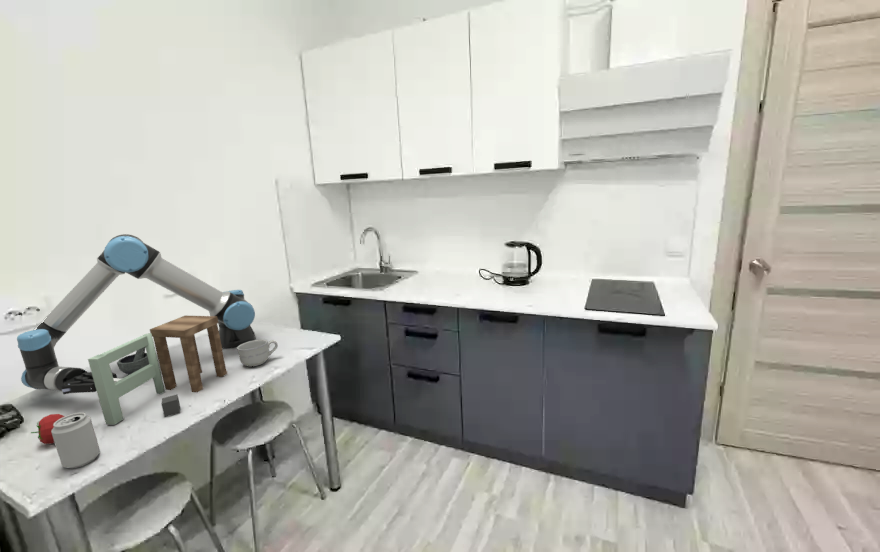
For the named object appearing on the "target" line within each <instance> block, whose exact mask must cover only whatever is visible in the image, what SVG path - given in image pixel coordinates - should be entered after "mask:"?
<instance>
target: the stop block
mask: <svg viewBox="0 0 880 552" xmlns="http://www.w3.org/2000/svg"><path fill="white" fill-rule="evenodd" d="M178 395H179V394H177V393H176V394H173V395H169V396H166V397H165V396H164V397H161V409H162V412H163V417H164V418H167V417H172V416H175V415H178V414H181V404H180V399H179V396H178Z"/></svg>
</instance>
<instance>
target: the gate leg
mask: <svg viewBox="0 0 880 552" xmlns="http://www.w3.org/2000/svg"><path fill="white" fill-rule="evenodd" d="M143 347H145V353H147V356H148V360H149V365H147V366H145V367H143V368H141V369H139V370H137V371H136V372H134V373H132V374H130V375H128V376H127V375H126V376H125V377H123V378H120V379H121V380H119V381H117V382H115V383H114V379H113V376H112V373H113V372H112V369H111V366H110V364H111V363H114V362H116V361H119V359H122V358H124V357H126V356H129V355H132V354H133V353H136V351H137V350H139V349H141V348H143ZM87 360H88V365H89V368H90V372H92V376H93V379H94V383H95V387H96V390H97V391H96V394H97V397H98V401H99V405H100V407H101V412H102V415H103V418H104V423H105V425H113V426H114V425H117V424H118V423H120V422H121V421H122V420H124V419H125V417H124V415H123V410H122V406H121V403H120V402H121V401H120V398H122V397H123V396H124V395H127V394H128V393H130V392H131V391H134V389H136V388H138V387H139V386H142V385H143V384H145V383H147V382H149V381H151V379H153V380H152V381H153V385H154V388H155V392H156V395H161V394H164V393H166V390H165V386H164V382H163V377H162V373H161V369H160V365H159V360H158V356H157V352H156V348H155V343H154V339H153V337H152V334H151V333H145V334H142V335H140V336H138V337H136V338H134V339H131V340H130V341H127V342H125V343H122V344H121V345H119V346H116V347H114V348H111V349H109V350H107V351H104V352H102V353H100V354H96V355H94V356H92V357H90V358H87Z"/></svg>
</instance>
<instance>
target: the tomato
mask: <svg viewBox="0 0 880 552" xmlns="http://www.w3.org/2000/svg"><path fill="white" fill-rule="evenodd" d="M65 416H66V415H63V414H60V413H51V414H49V415H46V416H43V417H42V418H41V419H40V420H39V421H37V423H36V428H38V429H37V430H38V431H31V432H30V434H38V436H37V438H38V440H39V442H40V443H42V444H43V445H51V444H52V445H53V444H55V442H54V439H53V436H52V432H51V431H52V429H53V428H54V426H53V424H54V423H55V422H56V421H57V420H59V419H60V418H62V417H65Z"/></svg>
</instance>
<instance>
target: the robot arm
mask: <svg viewBox="0 0 880 552" xmlns="http://www.w3.org/2000/svg"><path fill="white" fill-rule="evenodd" d="M161 254H162V253H161V251H159V250H157V249H155V248H154V247H152V246H150V245H148V244H147V243H145V242H144V241H143V240H142V239H140V238H139V237H138V236H135V235H132V234H127V233H126V234H124V233H123V234H119V235H116V236H114V237H112V238H111V239H110V240H109V241H108V242H107V244H106V245H105V247H104V250H103V251H102V252H101V253H100V255H98V257H96V261H97V263H95V265H94V266H93V267H92V268H91V269H90V270H89V271H88V272H87V273H86V274H85V275H84V276H83V277H82V279H80V280H79V282H78V283H77V284H76V285H75V286H74V287H73V288H72V289H71V290H70V291H69V292H68V293H67V294H66V295H65V296H64V297H63V298H62V300H61V301H60V302H59V303H58V304H57V305H56V306H55V307H54V308H53V309H52V310H51V311H50V312H51V313H50V312H49V313H50V314H49V313H48V315H46V317H47V318H46V317H45V318H46V319H45V318H44V319H45V320H44V319H43V320H44V322H43V323H41V322H40V323H41V324H40V323H39V324H40V325H39V324H38V325H39V326H38V325H37V326H38V327H37V326H36V327H37V329H36V330H34V329H32V330H29V331H25V332H22V333H20V334H18V336H17V338H16V341H17V347H18V349H19V352H20V354H21V358H22V361H23V364H24V367H25V369H24V370H23V372H22V374H21V377H20V381H21V383H22V384H23V385H24V386H26V388H27V387H28V388H31V389H34V390H49V391H57V392H58V391H59V392H62V394H63V395H69V394H76V393H77V394H78V393H79V394H80V393H82V394H83V393H95V392H96V393H97V390H96V387H95V383H94V379H93V376H92V372H91V371H86V370H85V369H84V368H81V367H74V366H73V367H72V366H71V367H70V366H59V362H58V358H57V356H56V352H55V351H56V350H55V346H56V345H57V343H58V342H59V341H60V340H61V339H62V337H63V336H65V334H67V331H69V330H70V328H72V326H74V324H75V323H76V322H77V321H78V320H79V319H80V318H81V317H82V316H83V315H84V313H85V312H86V311H87V310H88V309H89V308H90V307H91V306H92V305H93V304H94V303H95V302H96V300H98V298H99V297H100V296H101V295H102V294H103V293H104V292H105V291H106V290H107V289H108V288H109V287H110V286H111V284H112V283H113V282H114V281H115V280H116V279H117V278H118V277H119V276H120V275H121V276H122V275H125V274H128V275H129V276H132V277H133V278H135V279H137V280H140V279H147V280H148V281H151V282H153V283H155V284H156V285H158V286H160V287H162V288H164V289H166V290H167V291H170V292H172V293H174V294H176V295H178V296H179V297H182V298H183V299H185V300H188V302H190V303H192V304H195V305H197V306H198V307H201V308H202V309H203V310H205V311H208V313H209V316H217V318H218V324H217V325H218V330H219V335H220V340H221V346H222V349H235V348H236V349H237V347H238V346H239V345H241V344H243V343H246V342H249V341H253V340H257V337H256V333H255V331H254V328H252V326H251V325H252V323H253V322H254V320H255V317H256V313H255V312H256V310H255V309H254V306H253V305H252V304H251V303H250V302H248V301H247V300H246V299H245V294H244V290H242V289H232V290H226V291H221V290H220V289H217V288H216V287H213V286H212V285H210V284H208V283H207V282H206V281H203V280H201V279H200V278H198V277H196V276H194V275H192V274H191V273H189V272H187V271H185V269H182V268H180V267H178V266H176V265H175V264H173V263H172V262H170V261H168V260H165V259H164V258H163V257H162V255H161ZM112 376H113V379H114V383H115V382H117V381H119V380H121V379H122V378H119V377H118V375H117V373H115V372H112Z"/></svg>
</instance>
